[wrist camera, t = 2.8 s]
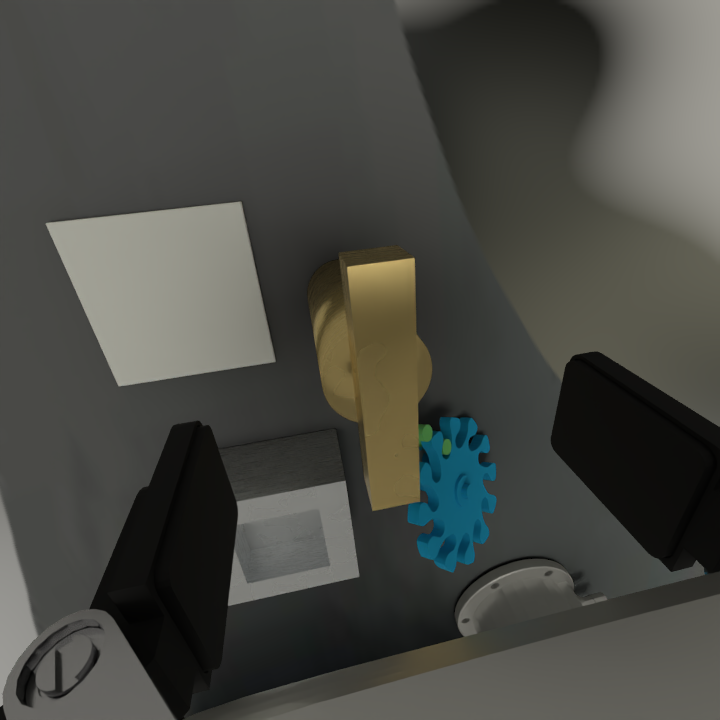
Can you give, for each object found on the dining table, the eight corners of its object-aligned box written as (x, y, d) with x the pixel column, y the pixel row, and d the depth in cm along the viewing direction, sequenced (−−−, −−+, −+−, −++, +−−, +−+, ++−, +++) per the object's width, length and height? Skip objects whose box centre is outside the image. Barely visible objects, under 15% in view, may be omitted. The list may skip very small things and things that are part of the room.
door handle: (369, 207, 21) (454, 252, 10) (380, 356, 25) (448, 495, 14) (294, 216, 20) (304, 272, 10) (318, 366, 24) (342, 517, 14)
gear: (516, 487, 30) (468, 610, 24) (450, 477, 34) (395, 579, 28) (467, 373, 26) (395, 483, 20) (400, 377, 31) (323, 470, 24)
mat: (241, 201, 19) (240, 201, 19) (275, 358, 24) (275, 361, 23) (50, 222, 18) (45, 223, 18) (121, 383, 23) (118, 386, 22)
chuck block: (335, 428, 27) (345, 480, 22) (348, 517, 31) (359, 576, 27) (139, 463, 25) (109, 526, 21) (181, 552, 29) (163, 620, 25)
